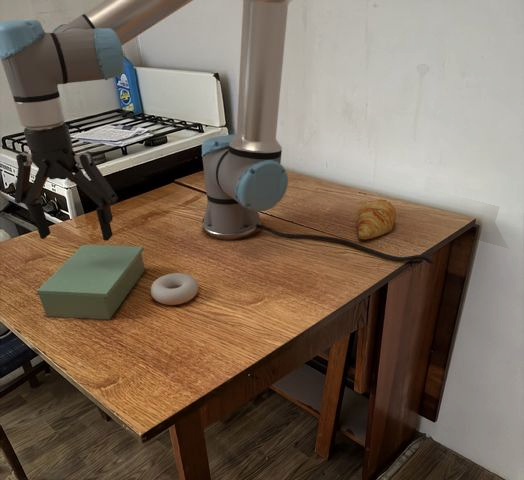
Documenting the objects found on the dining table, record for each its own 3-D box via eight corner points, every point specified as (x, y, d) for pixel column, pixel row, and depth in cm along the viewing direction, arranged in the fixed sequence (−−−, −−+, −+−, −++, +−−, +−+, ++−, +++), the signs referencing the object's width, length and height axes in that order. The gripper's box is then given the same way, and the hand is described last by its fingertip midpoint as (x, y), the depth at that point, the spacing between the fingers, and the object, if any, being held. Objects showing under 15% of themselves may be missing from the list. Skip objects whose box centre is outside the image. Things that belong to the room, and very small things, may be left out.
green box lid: (144, 249, 112) (143, 246, 112) (107, 297, 96) (106, 293, 95) (84, 247, 114) (83, 244, 114) (38, 293, 98) (36, 290, 98)
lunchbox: (145, 270, 115) (140, 249, 112) (109, 319, 99) (103, 297, 96) (89, 267, 117) (84, 247, 114) (46, 316, 101) (38, 294, 98)
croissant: (371, 258, 123) (389, 233, 117) (338, 234, 123) (354, 209, 117) (394, 223, 137) (411, 200, 132) (365, 203, 138) (380, 179, 132)
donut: (142, 301, 105) (178, 312, 100) (139, 286, 103) (176, 297, 98) (173, 280, 111) (208, 290, 107) (170, 266, 109) (206, 276, 105)
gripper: (119, 119, 89) (141, 230, 102) (-7, 120, 93) (30, 227, 106) (102, 130, 83) (128, 246, 96) (-32, 130, 87) (10, 243, 100)
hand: (76, 237), depth 101 cm, fingers open, 13 cm apart
